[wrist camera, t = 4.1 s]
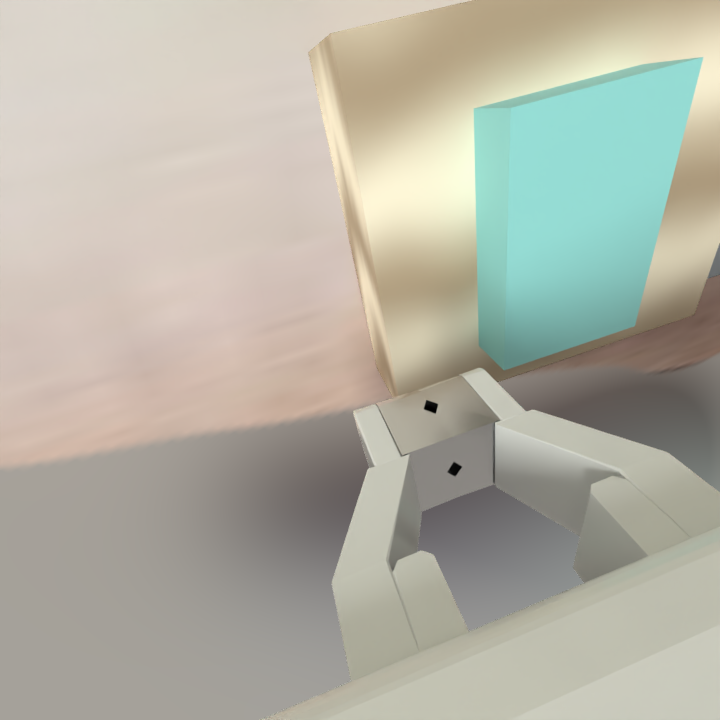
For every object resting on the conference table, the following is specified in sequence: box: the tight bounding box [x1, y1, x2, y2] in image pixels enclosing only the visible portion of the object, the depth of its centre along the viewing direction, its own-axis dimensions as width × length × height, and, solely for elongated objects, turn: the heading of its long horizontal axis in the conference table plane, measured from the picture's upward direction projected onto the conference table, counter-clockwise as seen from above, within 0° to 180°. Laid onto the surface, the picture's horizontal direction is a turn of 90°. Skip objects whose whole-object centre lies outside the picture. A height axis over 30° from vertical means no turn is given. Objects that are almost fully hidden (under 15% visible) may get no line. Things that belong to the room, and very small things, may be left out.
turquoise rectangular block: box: [474, 57, 703, 370], centre depth 14 cm, size 9×6×2 cm, turn 12°
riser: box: [309, 0, 720, 398], centre depth 16 cm, size 14×16×4 cm
